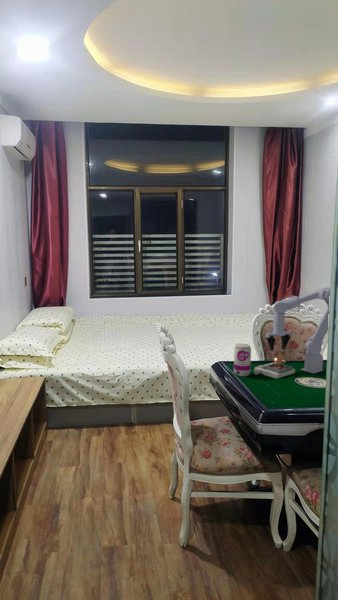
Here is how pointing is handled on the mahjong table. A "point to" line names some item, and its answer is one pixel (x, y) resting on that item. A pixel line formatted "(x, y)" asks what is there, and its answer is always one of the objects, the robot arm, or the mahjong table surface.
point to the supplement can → (242, 359)
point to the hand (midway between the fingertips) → (277, 349)
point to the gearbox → (273, 370)
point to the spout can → (278, 363)
